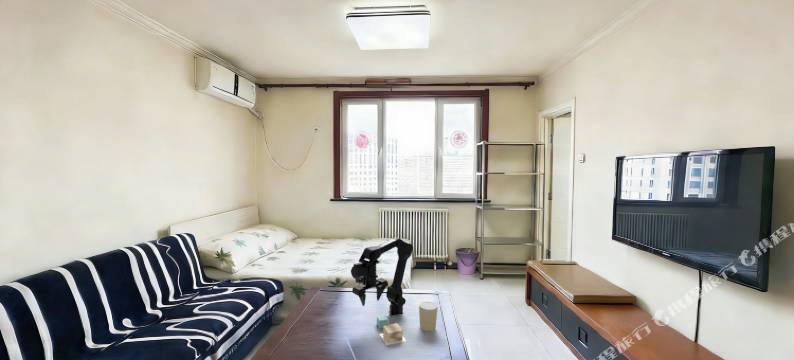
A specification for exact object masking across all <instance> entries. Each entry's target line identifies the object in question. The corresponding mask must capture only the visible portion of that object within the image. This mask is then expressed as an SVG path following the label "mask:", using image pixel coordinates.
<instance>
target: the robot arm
mask: <svg viewBox="0 0 794 360" xmlns="http://www.w3.org/2000/svg"><path fill="white" fill-rule="evenodd" d="M395 248H397V249H396V253H397V256H398V258H397V262H396V267H395V271H394V276H393V279H392V283H391V285H390V286H389V281H387V279H384V278H382V277H381V278H379V275H378V274H377V264H379V263H380V260H378V259H379V258H380V257H382V255H383V254H384V253H386V252H389V251H390V250H392V249H395ZM413 251H414V246H413V244H411V243H409V242H406V241H405V240H403V239H401V238H399V237H394V236H393V237H392V238H391V239H388V240H386V241H384V242H382V243H379V244H378V245H374V246H367V247H365V248H364V249H363V251H362V253H361V255H360V258H359V259H358V262H357V263H353V266H352V267H351V269H350V275H351V276H352V278H353V279H354V280H355V283H356V284H359V285H355V286H354V287H353V288H352V289H351V291H352V294H354V295H355V296H356V297H358V298H359V300H360V302H361V305H362V307H364V306H365V304H366V299H367V298H366V296H367V294H366V291H367V290H370V289H374V288H375V289H376V300H377V301H380V299H381V296H382V295H383V293H384V291H385V289H387V290H386V293H385V294H386V295H385V296H386V298H387V301H388V302H389V303H390V305H389V311H388V312H389V314H390V315H391V316H392V317H393V316H397V315H404V310H403V309H404V305H405V304H406V301H407V300H406V299H405V297H404V296H403V289H402V283H403V280H404V275H405V271H406V267H407V262H408V260H409V258H410V257H411V256H412V254H413ZM377 278H378V279H377ZM360 284H361V285H363V286H361V285H360Z"/></svg>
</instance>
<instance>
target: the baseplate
mask: <svg viewBox="0 0 794 360" xmlns="http://www.w3.org/2000/svg"><path fill="white" fill-rule="evenodd" d="M379 336H380V337H381V339H382V341H383V342H384V344H385V346H389V345H396V344H399V343H400V344H401V343H404V342H407V339H406V338H405V336H403V339H402V340H400V341H395V342H390V343H388V342H387V340H386V338H385V337H384V335H383V332H382V333H379Z"/></svg>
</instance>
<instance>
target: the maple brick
mask: <svg viewBox="0 0 794 360" xmlns="http://www.w3.org/2000/svg"><path fill="white" fill-rule="evenodd" d="M382 331H383V332H382V333H383V335H384V337H385V338H386V340H387V342H388V343H390V342H395V341H400V340H402V339H403V337H404V335H403V333H404V332H403V329H402V327H400V325H399V323H396V322H395V323H391V324H388V325H385V326H383V328H382Z"/></svg>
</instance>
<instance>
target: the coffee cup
mask: <svg viewBox="0 0 794 360" xmlns="http://www.w3.org/2000/svg"><path fill="white" fill-rule="evenodd" d="M438 308H439V307H438V305H437V304H436V303H435V302H432V301H423V302H420V303H419V306H418V309H419V312H418V314H419V328H420V329H421V330H422V331H424V332H425V331H426V332H431V333H435V331H436V328H437V327H436V326H437V319H438V317H437V316H438V315H437V314H438Z"/></svg>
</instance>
